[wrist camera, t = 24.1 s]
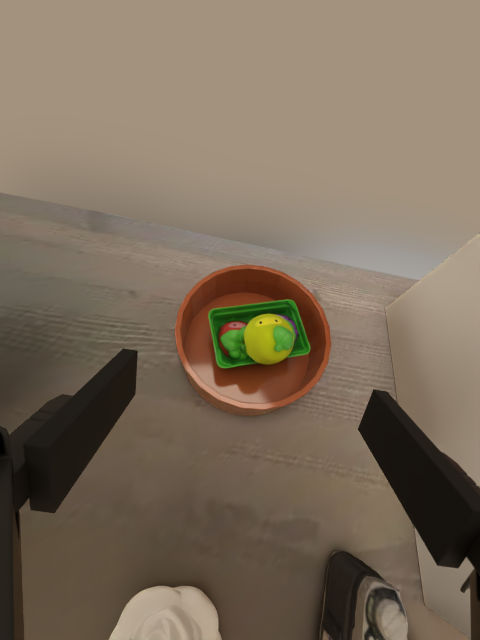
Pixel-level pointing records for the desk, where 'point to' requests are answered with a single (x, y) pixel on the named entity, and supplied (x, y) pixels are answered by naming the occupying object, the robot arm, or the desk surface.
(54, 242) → the desk surface
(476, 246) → the bookstore
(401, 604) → the camera
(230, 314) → the fruit basket
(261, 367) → the pot
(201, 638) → the rose
